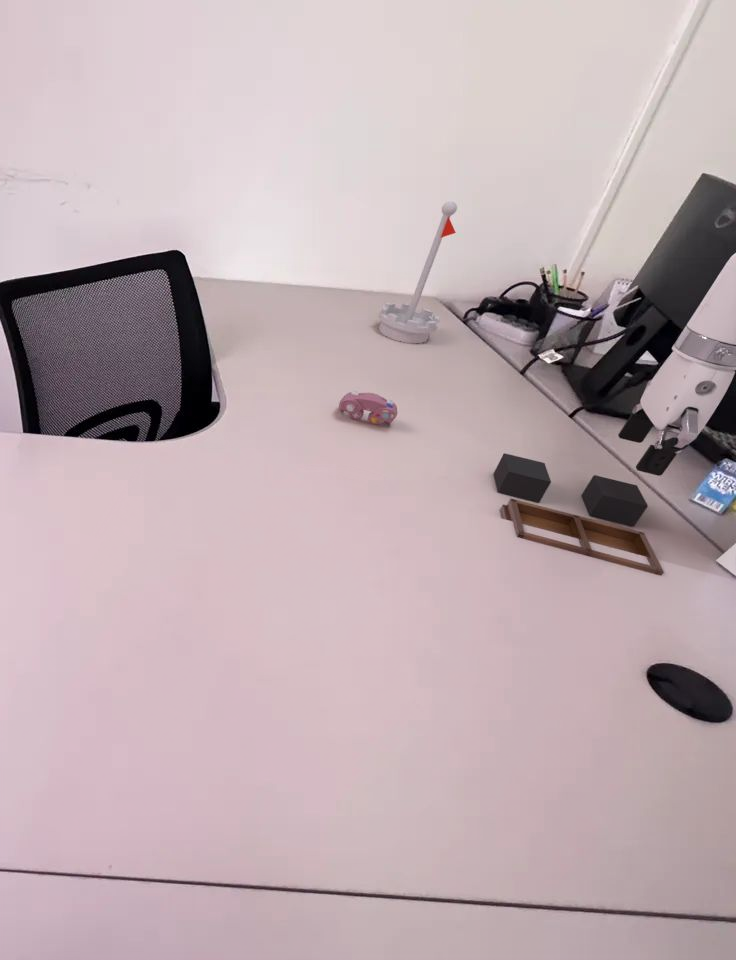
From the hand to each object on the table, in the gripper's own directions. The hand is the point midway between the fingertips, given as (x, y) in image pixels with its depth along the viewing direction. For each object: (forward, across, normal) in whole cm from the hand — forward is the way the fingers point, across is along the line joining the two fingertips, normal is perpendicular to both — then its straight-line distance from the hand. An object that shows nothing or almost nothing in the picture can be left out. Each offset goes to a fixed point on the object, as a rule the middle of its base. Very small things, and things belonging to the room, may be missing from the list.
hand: (638, 455), depth 99 cm
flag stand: (+11, +62, +29) cm, 69 cm away
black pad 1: (+10, 0, +12) cm, 16 cm away
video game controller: (+11, +11, +36) cm, 40 cm away
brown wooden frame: (+10, -13, +6) cm, 18 cm away
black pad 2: (+10, 0, -1) cm, 10 cm away
